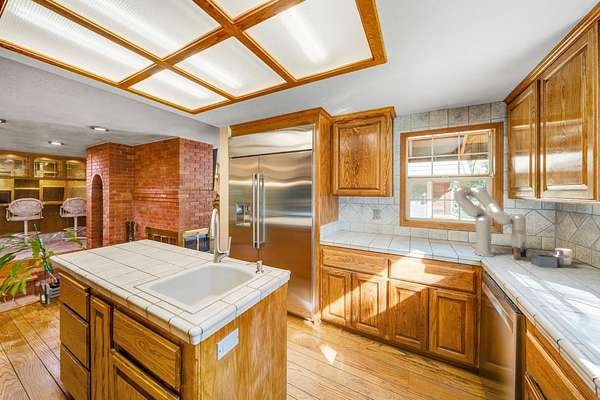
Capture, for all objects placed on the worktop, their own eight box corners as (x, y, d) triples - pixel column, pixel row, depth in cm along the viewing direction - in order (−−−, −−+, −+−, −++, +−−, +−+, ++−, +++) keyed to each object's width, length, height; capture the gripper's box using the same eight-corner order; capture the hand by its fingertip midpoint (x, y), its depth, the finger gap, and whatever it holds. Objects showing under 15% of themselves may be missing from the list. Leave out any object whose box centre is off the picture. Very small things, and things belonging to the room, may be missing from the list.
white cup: (561, 264, 154) (561, 250, 153) (551, 261, 161) (551, 247, 161) (576, 265, 152) (576, 250, 152) (565, 261, 160) (565, 248, 159)
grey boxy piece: (530, 263, 158) (530, 248, 158) (561, 264, 154) (561, 248, 154) (540, 267, 150) (540, 251, 149) (574, 269, 145) (574, 252, 145)
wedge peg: (513, 259, 169) (513, 246, 169) (521, 259, 168) (521, 246, 168) (516, 260, 166) (516, 247, 166) (524, 260, 165) (524, 247, 165)
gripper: (505, 230, 176) (505, 252, 176) (521, 234, 159) (521, 258, 159) (516, 230, 174) (516, 252, 174) (534, 234, 157) (534, 258, 157)
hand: (519, 255), depth 167 cm, fingers open, 8 cm apart
